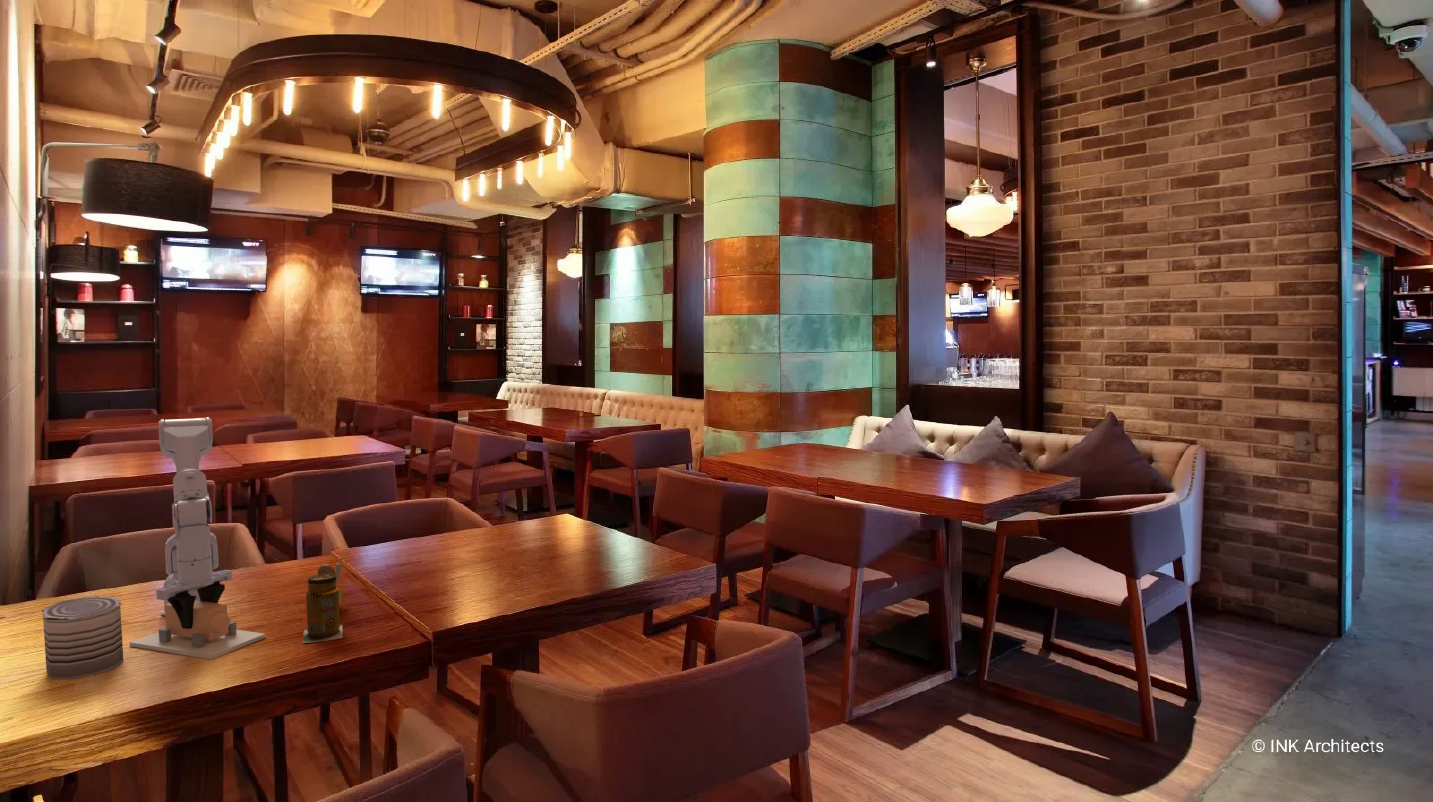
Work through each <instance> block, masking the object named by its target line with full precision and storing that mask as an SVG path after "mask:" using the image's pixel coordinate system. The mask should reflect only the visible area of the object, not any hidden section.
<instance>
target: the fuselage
mask: <svg viewBox="0 0 1433 802" xmlns="http://www.w3.org/2000/svg"><path fill="white" fill-rule="evenodd" d="M164 618H165V628H167V629H171V635H177V636H184V637H190V638H192V634H195V633H201V634H204V640H209V641H210V640H213V639H215V638H218V637H221V636H223V635H226V634H228V626H229V624H230V621H231V618H230V616H229V614H228V604H225V603H220V602H218V603H211V602H204V601H196V600H195V602H194V608H193V625H192V628H191V629H185V628H182V626H181V623H180V620H179V618H178V615H177V613H176V611H175V610H174V608H173V607H172V605H171V604H170V603H169V604H166V605H165V615H164Z"/></svg>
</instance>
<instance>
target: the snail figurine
mask: <svg viewBox="0 0 1433 802" xmlns="http://www.w3.org/2000/svg"><path fill="white" fill-rule="evenodd" d="M337 561H338V562H337V563H336V564H335V568H334V567H333V566H332V565H331V564H326V563H324V564H322V565H320V566H319V567H318V569H317V575H320V574H333V575H335V576H336V583H337V584H338V583H339V581H340V578H341V574H342V568H343V564H342V562H343V557H340V558H338V559H337ZM338 590H339V604H340V603H341V601H342V599H343V598H342V597H343V596H342V592H341V590H340V589H339V588H338Z"/></svg>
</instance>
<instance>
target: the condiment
mask: <svg viewBox="0 0 1433 802" xmlns="http://www.w3.org/2000/svg"><path fill="white" fill-rule="evenodd" d="M307 579H308V580H307V591H306V594H305V597H306V599H305V600H306V601H305V602H306V623H307V624H306V628H307V629H304V630H303V636H302V644H306V643H308V644H309V643H320V642H324V641H325V642H327V641H332V640H338V639H343V637H344V636H343V632H344V631H343V624H341V623H340V603H339V590H340V589H339V588H338V587H337V584H338V583H336V576H335V575H333V574H320V575H318V574H316V575H313V576H310V577H309V578H307ZM338 589H339V590H338Z"/></svg>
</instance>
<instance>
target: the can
mask: <svg viewBox="0 0 1433 802" xmlns="http://www.w3.org/2000/svg"><path fill="white" fill-rule="evenodd" d="M121 606H122V603H121V601H120V600H119V598H118V597H112V596H111V597H110V596H99V595H98V596H97V595H96V596H95V595H90V596H84V597H78V598H71V599H66V600H61V601H58V602H55V603H54V604H51V605H49V606H47V607H45V608H42V609H41V612H42V620H43V621H42V622H43V637H44V639H43V640H44V653H45V667H46V675H47V676H48V677H49V679H50V680H63V681H64V680H67V681H68V680H75V679H80V678H85V677H92V676H95V675H98V674H101V673H104V672H107V671H110V670H114V669H115V668H116V667H118V666H119V665H120V664H121V663H123V662H124V649H123V648H124V647H123V646H124V645H123V633H122V632H123V631H122V630H123V629H122V628H123V627H122V615H121V614H122V613H121V612H122V611H121Z"/></svg>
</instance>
